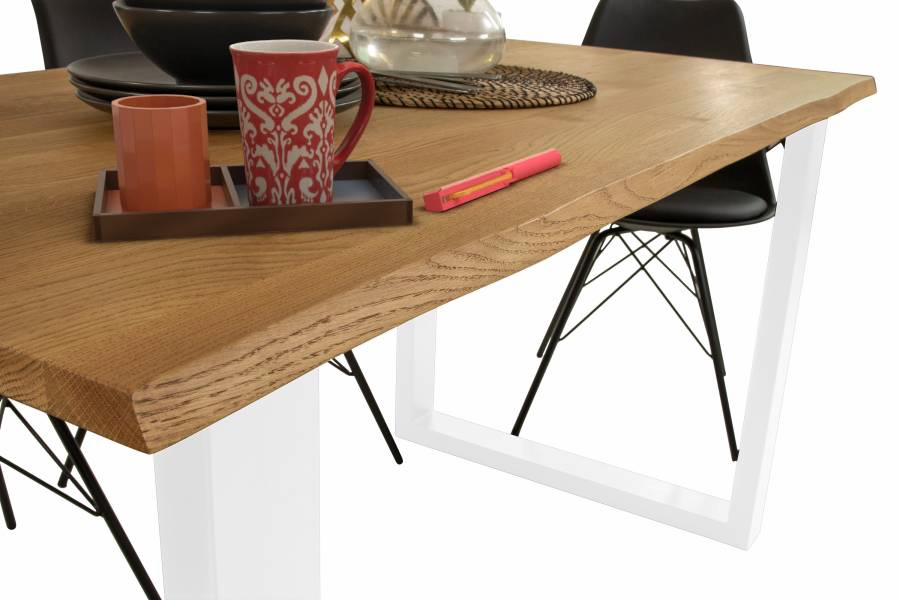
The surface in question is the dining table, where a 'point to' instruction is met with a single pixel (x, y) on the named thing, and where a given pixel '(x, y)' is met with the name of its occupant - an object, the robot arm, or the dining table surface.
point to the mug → (294, 118)
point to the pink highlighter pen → (490, 181)
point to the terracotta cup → (162, 152)
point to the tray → (256, 208)
